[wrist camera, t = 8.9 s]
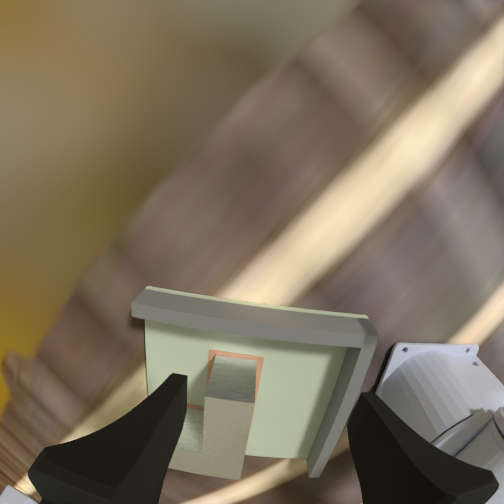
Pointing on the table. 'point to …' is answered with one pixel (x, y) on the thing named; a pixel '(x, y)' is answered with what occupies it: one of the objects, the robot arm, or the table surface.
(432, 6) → the table surface
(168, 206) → the table surface
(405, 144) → the table surface
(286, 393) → the arena
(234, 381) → the bracket
